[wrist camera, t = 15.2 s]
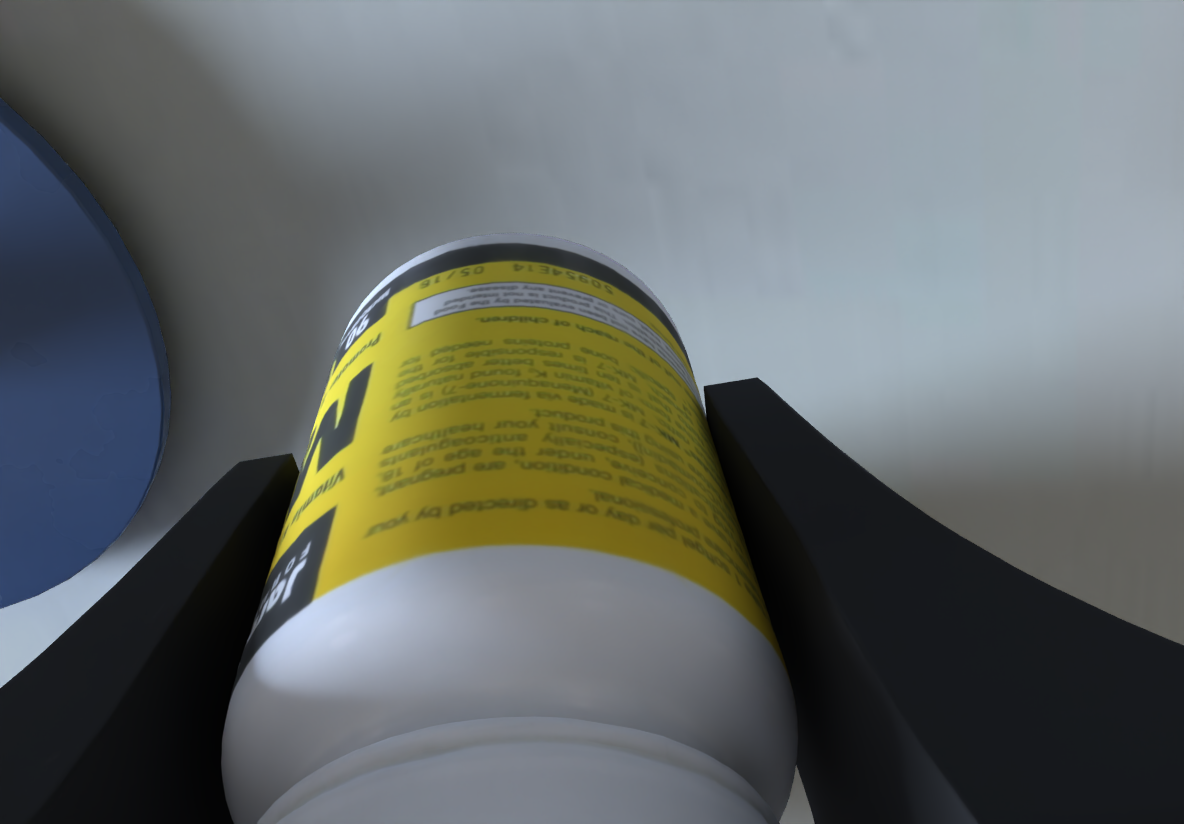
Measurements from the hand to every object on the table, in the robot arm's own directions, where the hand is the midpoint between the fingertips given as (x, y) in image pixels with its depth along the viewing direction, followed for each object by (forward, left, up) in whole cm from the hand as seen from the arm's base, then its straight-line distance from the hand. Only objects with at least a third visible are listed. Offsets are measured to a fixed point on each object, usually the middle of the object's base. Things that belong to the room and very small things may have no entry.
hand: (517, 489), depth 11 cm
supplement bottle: (0, 0, -2) cm, 2 cm away
